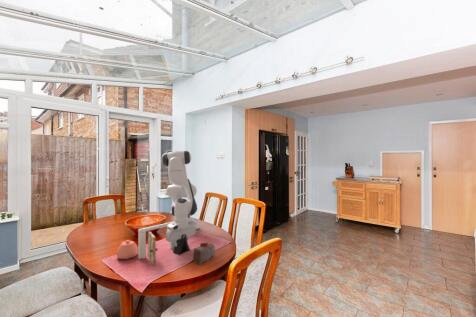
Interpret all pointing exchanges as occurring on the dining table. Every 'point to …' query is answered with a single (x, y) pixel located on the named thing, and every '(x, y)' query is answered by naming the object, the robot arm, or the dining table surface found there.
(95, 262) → the dining table surface
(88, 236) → the dining table surface
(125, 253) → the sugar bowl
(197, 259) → the dark grey block
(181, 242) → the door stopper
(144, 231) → the wall frame
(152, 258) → the door
